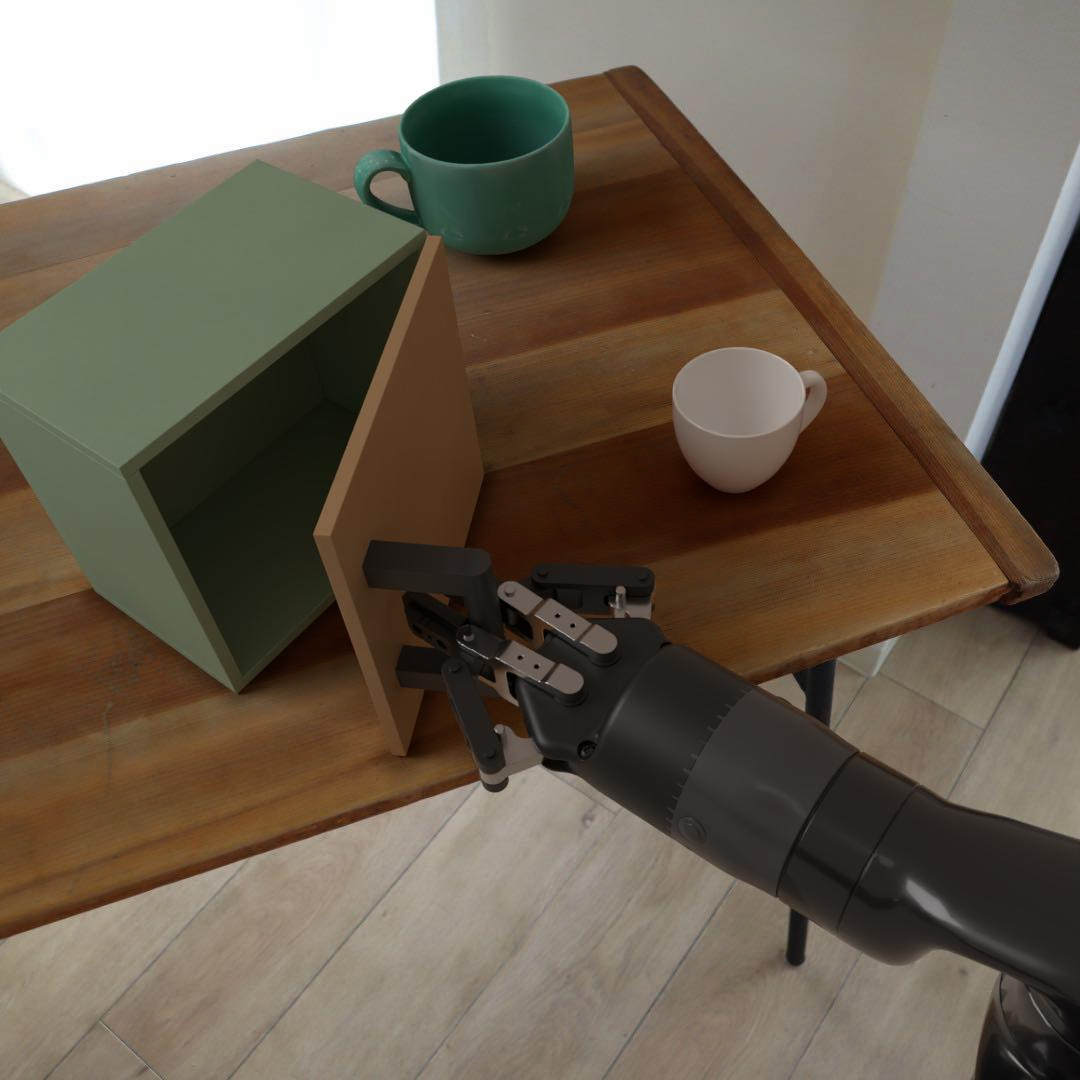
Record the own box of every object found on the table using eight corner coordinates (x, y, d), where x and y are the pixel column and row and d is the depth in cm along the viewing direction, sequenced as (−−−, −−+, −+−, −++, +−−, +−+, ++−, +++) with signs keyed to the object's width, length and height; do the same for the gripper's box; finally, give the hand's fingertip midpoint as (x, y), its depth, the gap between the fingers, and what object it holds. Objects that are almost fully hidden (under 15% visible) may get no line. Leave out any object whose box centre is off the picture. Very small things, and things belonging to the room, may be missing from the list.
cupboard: (471, 471, 76) (425, 228, 62) (237, 694, 66) (119, 468, 52) (328, 396, 82) (257, 158, 68) (94, 591, 72) (-47, 362, 58)
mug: (556, 168, 97) (547, 59, 90) (597, 256, 89) (590, 144, 82) (359, 210, 96) (334, 103, 89) (383, 304, 88) (357, 194, 81)
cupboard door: (573, 480, 74) (551, 239, 60) (512, 769, 62) (466, 547, 48) (472, 473, 76) (427, 235, 62) (391, 755, 63) (312, 534, 49)
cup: (650, 451, 76) (649, 372, 71) (785, 399, 78) (794, 319, 73) (709, 532, 71) (712, 454, 66) (852, 475, 73) (866, 395, 68)
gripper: (635, 928, 50) (343, 724, 58) (797, 701, 57) (516, 545, 64) (632, 852, 44) (308, 636, 52) (814, 609, 51) (502, 449, 58)
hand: (424, 586), depth 58 cm, fingers closed
